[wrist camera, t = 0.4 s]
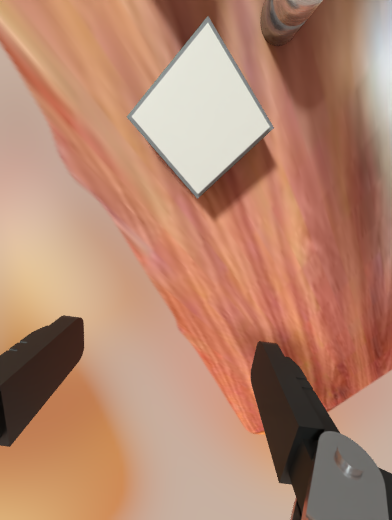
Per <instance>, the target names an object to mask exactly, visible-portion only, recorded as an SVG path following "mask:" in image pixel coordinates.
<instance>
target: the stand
mask: <svg viewBox="0 0 392 520" xmlns="http://www.w3.org/2000/svg"><path fill="white" fill-rule="evenodd" d="M127 118H128V119H129V120H130V121H131V123H132V124H133V125H134V126H135V127H136V128H137V129H138V131H139V132H140V133H141V134H142V135H143V136H144V138H145V139H146V140H147V141H148V142H149V143H150V145H151V146H152V147H153V148H154V149H155V150H156V151H157V153H158V154H159V155H160V156H161V157H162V158H163V160H164V161H165V162H166V163H167V164H168V165H169V167H170V168H171V169H172V170H173V171H174V172H175V173H176V175H177V176H178V177H179V178H180V179H181V180H182V182H183V183H184V184H185V185H186V186H187V187H188V189H189V190H190V191H191V192H192V193H193V194H194V195H195V197H196V198H197V199H198V198H199V197H200V196H201V195H202V194H203V193H204V192H205V191H206V190H207V189H209V188H210V187H211V186H212V185H213V184H214V183H215V182H216V181H217V180H218V179H219V178H220V177H221V176H223V175H224V174H225V173H226V172H227V171H228V170H229V169H230V168H231V167H232V166H233V165H234V164H236V163H237V162H238V161H239V160H240V159H241V158H242V157H243V156H244V155H245V154H246V153H247V152H248V151H250V150H251V149H252V148H253V147H254V146H255V145H256V144H257V143H258V142H259V141H260V140H261V139H263V138H264V137H265V136H266V135H267V134H268V133H269V132H270V131H271V130H272V129H273V128H274V127H273V125H272V124H271V122H270V120H269V119H268V117H267V115H266V114H265V112H264V110H263V108H262V107H261V105H260V103H259V102H258V100H257V98H256V97H255V95H254V93H253V91H252V90H251V88H250V86H249V85H248V83H247V81H246V79H245V78H244V76H243V74H242V73H241V71H240V69H239V68H238V66H237V64H236V62H235V61H234V59H233V57H232V56H231V54H230V52H229V51H228V49H227V47H226V45H225V44H224V42H223V40H222V39H221V37H220V35H219V34H218V32H217V30H216V28H215V27H214V25H213V23H212V22H211V20H210V18H209V17H208V16H207V18H206V19H205V20H204V21H203V23H202V24H201V25H200V26H199V28H198V29H197V30H196V31H195V33H194V34H193V35H192V36H191V37H190V39H189V40H188V41H187V42H186V44H185V45H184V46H183V47H182V49H181V50H180V51H179V52H178V54H177V55H176V56H175V57H174V59H173V60H172V61H171V62H170V64H169V65H168V66H167V67H166V69H165V70H164V71H163V72H162V74H161V75H160V76H159V77H158V79H157V80H156V81H155V82H154V84H153V85H152V86H151V87H150V89H149V90H148V91H147V92H146V93H145V95H144V96H143V97H142V98H141V100H140V101H139V102H138V103H137V105H136V106H135V107H134V108H133V110H132V111H131V112H130V113H129V115H128V116H127Z"/></svg>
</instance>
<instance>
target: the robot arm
mask: <svg viewBox="0 0 392 520" xmlns="http://www.w3.org/2000/svg"><path fill="white" fill-rule="evenodd" d="M83 350H84V326H83V319H82V318H79V317H71V316H61V317H60V318H59V319H57V320H56V321H55V322H54V323H52V324H51V325H49V326H45V327H43V328H40V329H38V330H36V331H34V332H32V333H31V334H29V335H28V336H27V337H25V338H24V339H22V340H21V341H20V343H17V344H15V345H14V346H13V347H11V348H10V350H9V351H6V352H4V353H3V354H2V355H0V445H1V446H9V447H10V446H11V444H12V443H13V442H14V441H15V440H16V438H17V437H18V436H19V435H20V434H21V432H22V431H23V430H24V428H25V427H26V426H27V425H28V424H29V422H30V421H31V420H32V419H33V417H34V416H35V415H36V414H37V413H38V411H39V410H40V409H41V408H42V406H43V405H44V404H45V403H46V401H47V400H48V399H49V398H50V396H51V395H52V394H53V393H54V391H55V390H56V389H57V388H58V386H59V385H60V384H61V383H62V382H63V380H64V379H65V378H66V377H67V375H68V374H69V373H70V372H71V371H72V369H73V368H74V367H75V366H76V364H77V363H78V362H79V360H80V358H81V356H82V354H83ZM251 383H252V387H253V391H254V395H255V398H256V402H257V405H258V409H259V413H260V416H261V420H262V423H263V427H264V430H265V434H266V438H267V441H268V445H269V448H270V452H271V455H272V459H273V462H274V466H275V470H276V473H277V477H278V481H279V483H284V484H292V486H293V489H294V492H295V495H296V499H295V502H294V505H293V510H292V514H291V519H290V520H392V474H391V473H389V472H387V471H385V470H382V469H380V468H378V467H377V465H376V464H375V462H374V461H373V460H372V458H371V457H370V456H369V455H368V454H367V453H366V451H365V450H363V449H362V448H361V447H360V446H359V445H358V444H357V443H355V442H354V441H353V440H351V439H350V438H348V437H346V436H344V435H342V434H340V432H339V431H338V429H337V427H336V426H335V424H334V423H333V421H332V419H331V418H330V417H329V414H328V413H327V411H326V409H325V408H324V406H323V405H322V403H321V401H320V400H319V398H318V396H317V395H316V393H315V391H313V388H312V387H311V385H310V383H309V382H308V381H307V378H306V377H305V375H304V374H303V372H302V370H301V369H300V367H299V366H298V365H297V364H296V363H295V362H294V361H293V360H292V359H290V358H289V357H284V355H283V353H282V351H281V349H280V348H279V346H278V344H276V343H269V342H261V341H259V342H258V344H257V347H256V352H255V356H254V360H253V364H252V368H251Z"/></svg>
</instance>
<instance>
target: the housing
mask: <svg viewBox="0 0 392 520" xmlns="http://www.w3.org/2000/svg"><path fill="white" fill-rule="evenodd" d="M322 1H323V0H266V1H265V3H264V5H263V8H262V12H261V22H260V23H261V30H262V33H263V36H264V38H265V39H266V40H267V41H268V42H269V43H270V44H272V45H276V46H279V45H283V44H285V43H287V42H288V41H289V40H290V39H291V38H292V37H293V36H294V35H295V34H296V32H297V31H298V30H299V29H300V28H301V26H302V25H303V24H304V23H305V21H306V20H307V19H308V18H309V17H310V15H311V14H312V13H313V12H314V11H315V9H316V8H317V7H318V6H319V5H320V3H321V2H322Z"/></svg>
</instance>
